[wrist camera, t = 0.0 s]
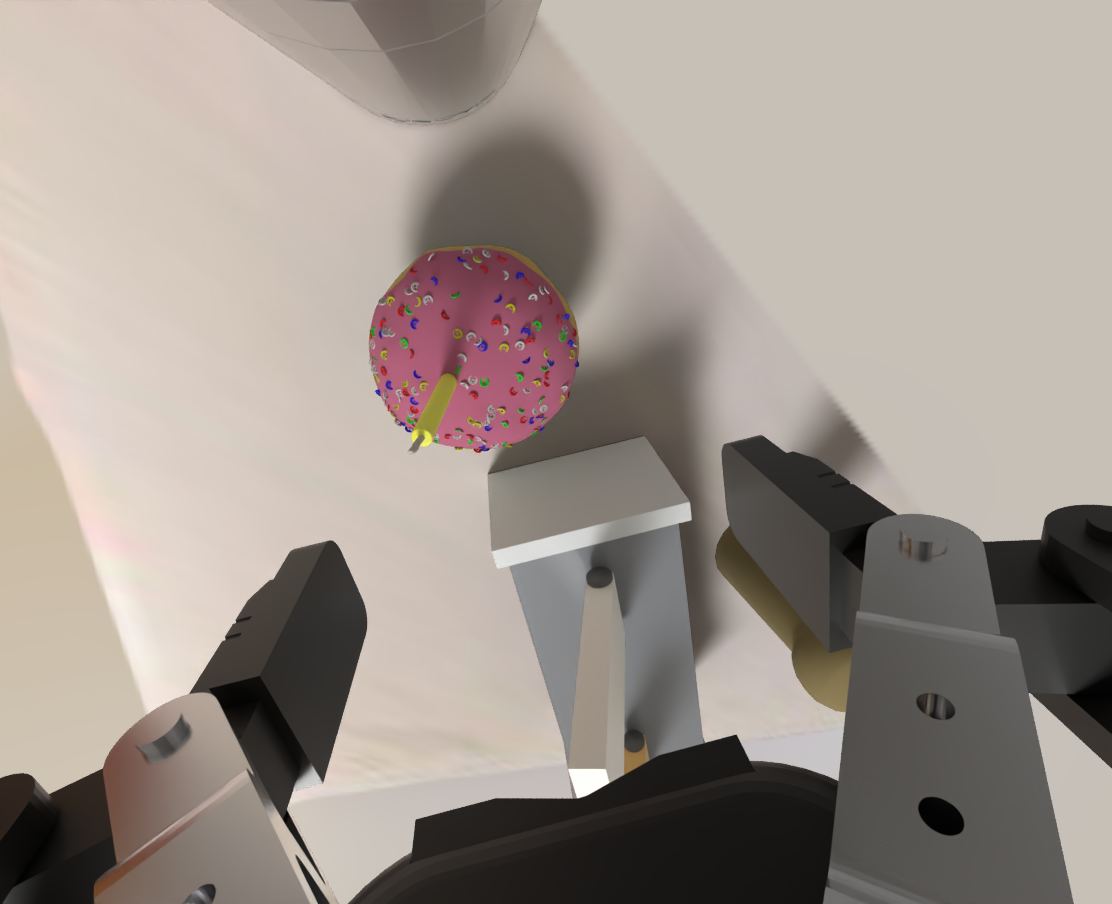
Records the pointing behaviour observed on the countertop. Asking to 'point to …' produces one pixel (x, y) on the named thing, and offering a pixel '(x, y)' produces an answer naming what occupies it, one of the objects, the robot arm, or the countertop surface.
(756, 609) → the cork
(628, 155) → the countertop surface
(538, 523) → the switch box
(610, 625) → the rocker switch
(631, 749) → the outlet rocker
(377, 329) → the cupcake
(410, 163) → the countertop surface
